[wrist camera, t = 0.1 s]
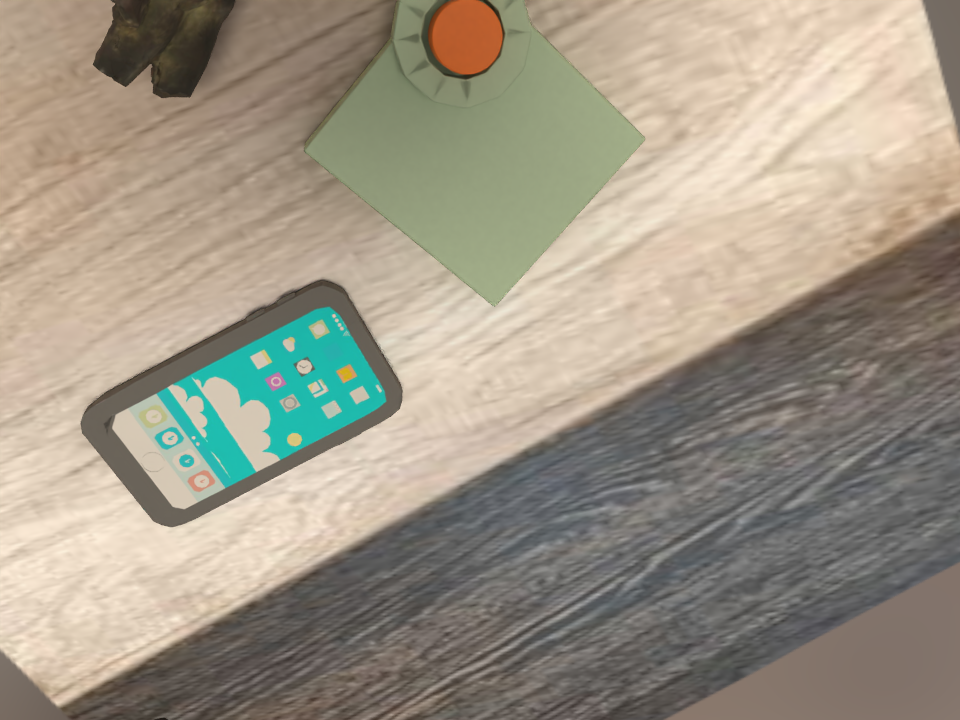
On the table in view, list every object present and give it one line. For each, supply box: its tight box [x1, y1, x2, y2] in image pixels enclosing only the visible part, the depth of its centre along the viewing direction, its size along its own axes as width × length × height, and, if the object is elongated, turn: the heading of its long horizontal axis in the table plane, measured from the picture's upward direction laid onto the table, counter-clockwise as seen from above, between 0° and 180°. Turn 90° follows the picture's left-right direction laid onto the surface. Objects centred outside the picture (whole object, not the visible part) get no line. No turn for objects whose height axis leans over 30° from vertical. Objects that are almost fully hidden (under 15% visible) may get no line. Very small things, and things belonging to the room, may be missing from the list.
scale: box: [304, 0, 645, 306], centre depth 42 cm, size 13×12×4 cm
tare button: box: [428, 0, 503, 75], centre depth 39 cm, size 3×3×2 cm
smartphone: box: [81, 281, 402, 527], centre depth 47 cm, size 9×1×15 cm
